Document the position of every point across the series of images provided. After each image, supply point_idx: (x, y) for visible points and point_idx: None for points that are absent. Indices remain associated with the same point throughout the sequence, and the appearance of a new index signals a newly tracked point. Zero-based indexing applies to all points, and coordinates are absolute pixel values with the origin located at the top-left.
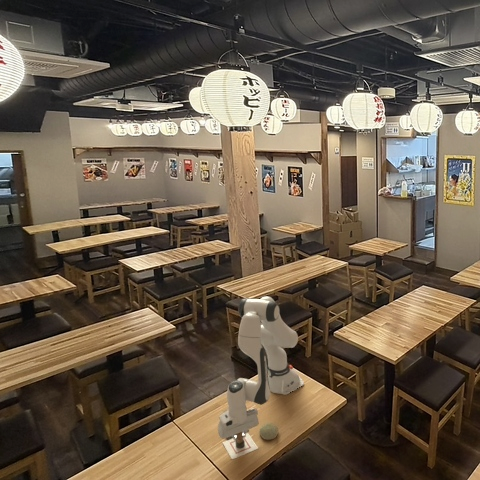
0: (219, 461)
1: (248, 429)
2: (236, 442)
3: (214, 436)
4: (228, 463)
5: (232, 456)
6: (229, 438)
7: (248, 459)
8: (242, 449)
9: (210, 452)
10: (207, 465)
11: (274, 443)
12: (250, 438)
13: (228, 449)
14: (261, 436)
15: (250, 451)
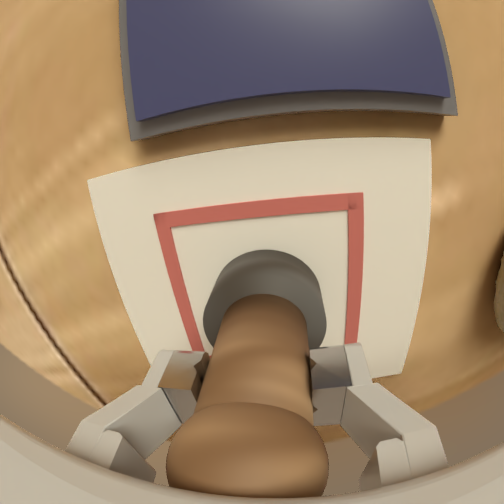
0: (82, 350)
1: (457, 115)
2: (214, 324)
3: (49, 73)
4: None
5: None
6: (171, 132)
7: None
8: None
9: (22, 253)
10: (32, 336)
11: (500, 347)
12: (416, 247)
13: (136, 295)
14: (498, 285)
15: None
